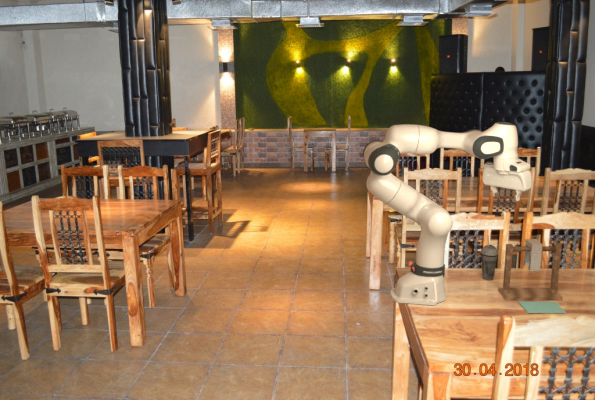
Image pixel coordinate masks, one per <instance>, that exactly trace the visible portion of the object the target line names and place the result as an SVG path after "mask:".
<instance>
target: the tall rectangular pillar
mask: <svg viewBox="0 0 595 400" xmlns="http://www.w3.org/2000/svg"><path fill="white" fill-rule="evenodd" d="M524 246H528V247H530V251H523V252H524V254H523V255H524V256H523V266H524V267H528V271H529V272H541V268H542V267H541V266H542V255H543V251H542V246H544V244H543V243H541V242H540V241H539V240H537V239H536V238H525V243H524Z"/></svg>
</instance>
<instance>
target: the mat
mask: <svg viewBox="0 0 595 400" xmlns="http://www.w3.org/2000/svg"><path fill="white" fill-rule="evenodd" d="M518 304H519V305H520V307H521V308H522V309H523V310H524V309H525V310H526V311H525V310H524V311H525V312H526V313H527V314H528V313H564V314H563V315H566V314H567V311H565V310H564V309H563V308H562V307H561V306H560V305H559V304H558V303H557V301H518Z"/></svg>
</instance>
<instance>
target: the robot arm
mask: <svg viewBox="0 0 595 400" xmlns="http://www.w3.org/2000/svg"><path fill="white" fill-rule="evenodd" d="M518 137H519V135H518V130H517V126H516V125H515V124H514V123H511V122H505V121H497V122H495V123H494V124H493V125H492V126H491V127H488V129H486V130H483V131H482V130H480V129H476V128H475V129H474V128H473V129H469V130H466V131H463V132H453V131H442V130H438V129H436V128H433V127H432V126H431V127H430V126H427V125H421V124H409V123H407V124H404V123H403V124H392V125H391V126H390V127H389V128H388V129H387V131H386V134H385V138H384V140H383V141H382V140H378V139H377V140H371V141H369V142H368V143H367V144H366V145H365V146H364V148H363V151H362V156H363V160H364V162H365V165H366V166H367V169H368V170H369V171H370V173H369V175H368V177H367V178H366V183H365V184H366V185H365V186H366V189H367V190H368V191H369V192H370V193H371V194H372V195H373V196H374V197H375V198H376V199H377V200H379V201H380V202H381V203H384V204H385V205H386V206H388V207H389V208H391V209H393V210H394V211H396V213H397V212H398V213H399V214H400V215H402V216H404V217H406V218H408V219H409V220H410V221H413V222H414V223H416V224H417V225H418V226H420V234H419V238H418V241H417V242H416V248H415V249H416V250H415V251H416V255H415V262H413V261H412V260H409V261H408V263H407V264H408V266H409V268H410V270H409V271H408V272H406V273H405V274H403V275H402V276H400V277H399V278H398V279H397V282H396V286H395V287H392V288H391V290H390V292H389V294H390V298H391V299H392V300H393V301H394V302H396V303H398V304H411V305H423V306H436V305H438V304H439V303H441V302H444V301H446V300H447V298H448V297H447V294H446V288H445V275H446V265H445V252H446V251H445V249H446V243H447V239H448V236H449V233H450V232H451V231H452V228H453V224H454V222H453V219H452V217H451V214H450V212H449V211H448V210H446V209H445V208H444V207H442V206H441V205H440V204H438V203H437V202H435V201H434V200H432V199H430V198H429V197H427V196H426V195H424V194H423V193H421V192H420V191H418V190H416V189H415V188H414V187H412V186H411V185H410V184H407V183H406V182H405V181H403V180H402V179H400V178H398V177H397V176H396V175H394V174H393V173H392V172H394V171H395V169H396V167H397V165H398V162H399V160H400V159H401V155H402V154H411V155H412V154H413V155H430V154H432V153H434V152H435V151H436V150H437V149H441V148H443V149H444V148H445V149H455V150H457V149H458V150H461V151H463V152H465V153H466V154H468V155H471V156H473V157H475V158H478V159H480V160H488V159H491V158H493V162H491V161H487V162H485V163H484V164H483V172H482V183H483V185H485V186H490V190H491V192H492V194H493V195H492V196H493V197H494V198H499V197H500V192H499V191H498V189H497V188H503V189H508V190H514V191H515V193H516V194H515V195H514V196H513V201H516V202H519V201H520V199H521V195H522V193H523V192H527V191H530V190H531V189H532V186H533V183H532V182H533V181H532V179H533V177H532V174H531V172H530V169H531V164H530V163H528V162H526V161H524V160H522V159H521V158H519V154H518V153H519V152H518V146H519V138H518Z"/></svg>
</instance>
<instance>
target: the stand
mask: <svg viewBox="0 0 595 400" xmlns="http://www.w3.org/2000/svg"><path fill="white" fill-rule="evenodd" d="M525 251H530V247H528V246H525V245H524V246H523V245H522V246H518V245H517V246H516V245H515V246H514V245H513V244H511V243H506V244H505V255H504V270H503V281H502V287H497V291H498V293H500V295H501V296H502V297H503V299H504V300H505V301H507V302H509V301H513V302H514V301H518V302H557V301H560V302H562V301H563V296H562V295H561V294H559V292H558V287H559V286H558V284H559V276H560V265H561V258H562V257H561V255H562V244H560V243H554V244H553V246H551V245H549V246H548V245H546V246H545V245H543V246H542V252H553V255H552V267H551V276H550V286H549V287H511V275H512V265H513V264H512V262H513V252H525Z"/></svg>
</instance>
